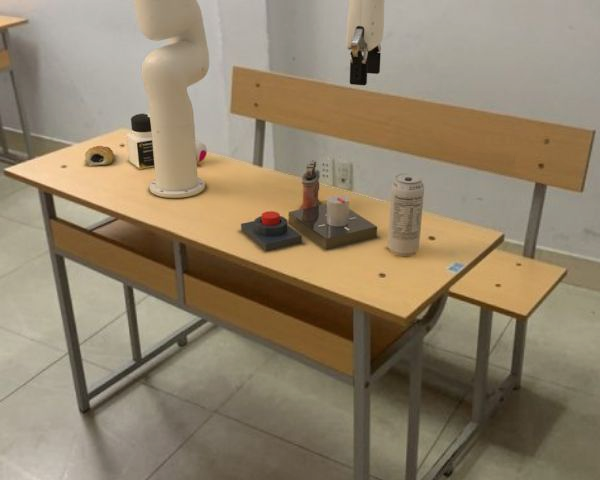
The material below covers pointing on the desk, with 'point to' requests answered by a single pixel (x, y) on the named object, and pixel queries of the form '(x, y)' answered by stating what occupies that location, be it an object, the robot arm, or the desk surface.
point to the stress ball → (200, 151)
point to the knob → (337, 210)
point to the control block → (271, 234)
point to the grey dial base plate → (331, 227)
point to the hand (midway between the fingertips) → (365, 78)
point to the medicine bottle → (141, 142)
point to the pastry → (99, 156)
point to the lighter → (310, 186)
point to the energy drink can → (405, 214)
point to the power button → (270, 218)
